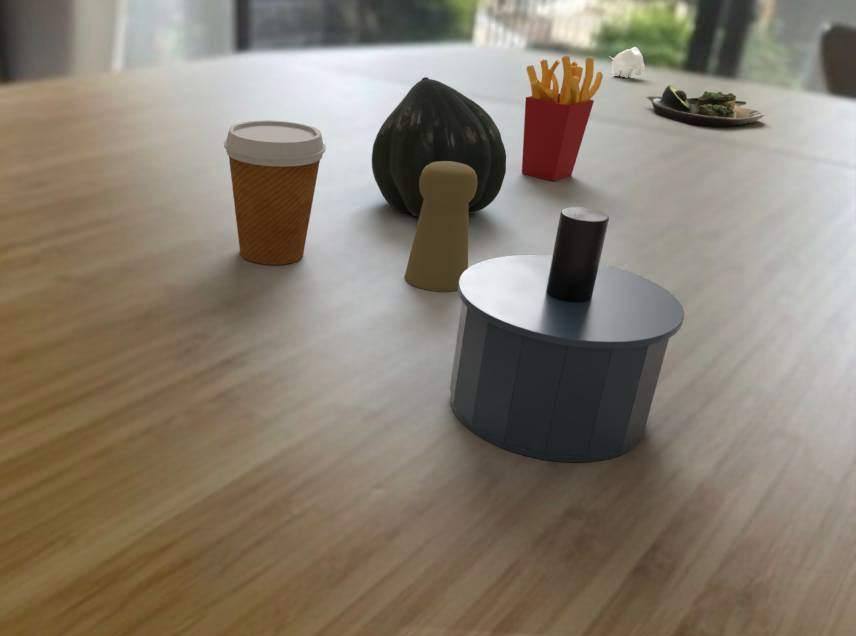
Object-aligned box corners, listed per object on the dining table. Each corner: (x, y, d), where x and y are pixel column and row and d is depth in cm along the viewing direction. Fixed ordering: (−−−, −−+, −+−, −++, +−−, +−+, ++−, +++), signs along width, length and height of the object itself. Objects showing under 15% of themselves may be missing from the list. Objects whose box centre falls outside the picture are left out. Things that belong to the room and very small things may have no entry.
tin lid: (644, 275, 67) (666, 188, 64) (712, 365, 54) (743, 262, 51) (447, 262, 67) (458, 175, 64) (468, 349, 55) (484, 246, 51)
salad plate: (708, 102, 173) (714, 77, 171) (786, 123, 159) (794, 97, 157) (632, 107, 165) (637, 81, 163) (707, 130, 151) (715, 101, 149)
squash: (530, 187, 95) (509, 59, 98) (392, 193, 93) (375, 61, 96) (488, 238, 109) (471, 125, 112) (366, 244, 107) (352, 128, 110)
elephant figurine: (638, 81, 190) (644, 52, 187) (601, 76, 194) (606, 47, 191) (647, 77, 195) (653, 48, 192) (610, 72, 199) (616, 44, 196)
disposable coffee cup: (299, 278, 84) (305, 149, 78) (206, 260, 87) (205, 134, 81) (332, 247, 92) (340, 127, 86) (247, 231, 95) (249, 114, 89)
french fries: (556, 184, 117) (578, 62, 110) (501, 170, 122) (519, 53, 115) (588, 173, 123) (611, 57, 116) (535, 160, 128) (554, 47, 120)
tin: (616, 372, 71) (641, 270, 66) (669, 469, 59) (703, 352, 55) (442, 360, 71) (456, 258, 67) (459, 455, 59) (477, 337, 55)
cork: (481, 284, 85) (499, 168, 80) (432, 296, 82) (447, 176, 77) (439, 263, 89) (453, 152, 84) (391, 273, 86) (402, 159, 81)
